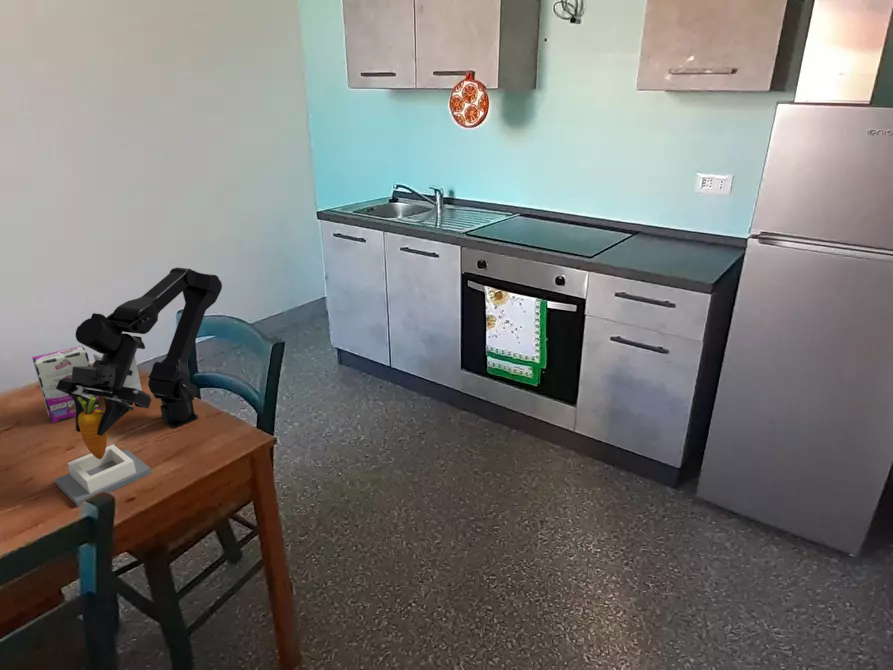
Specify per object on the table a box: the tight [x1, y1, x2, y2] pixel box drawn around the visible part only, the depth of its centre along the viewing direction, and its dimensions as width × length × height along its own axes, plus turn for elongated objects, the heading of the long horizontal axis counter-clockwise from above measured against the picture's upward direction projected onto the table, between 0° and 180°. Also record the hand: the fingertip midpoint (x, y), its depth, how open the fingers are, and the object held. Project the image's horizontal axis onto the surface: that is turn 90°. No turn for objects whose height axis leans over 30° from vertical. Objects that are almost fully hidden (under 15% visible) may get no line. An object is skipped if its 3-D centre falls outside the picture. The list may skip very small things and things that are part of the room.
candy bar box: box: [31, 345, 101, 424], centre depth 155 cm, size 11×5×16 cm, turn 129°
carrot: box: [77, 395, 108, 459], centre depth 129 cm, size 5×5×15 cm
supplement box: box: [92, 351, 142, 400], centre depth 164 cm, size 7×7×13 cm
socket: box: [54, 444, 153, 507], centre depth 133 cm, size 15×11×4 cm
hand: (88, 433), depth 128 cm, fingers closed on carrot, 5 cm apart
